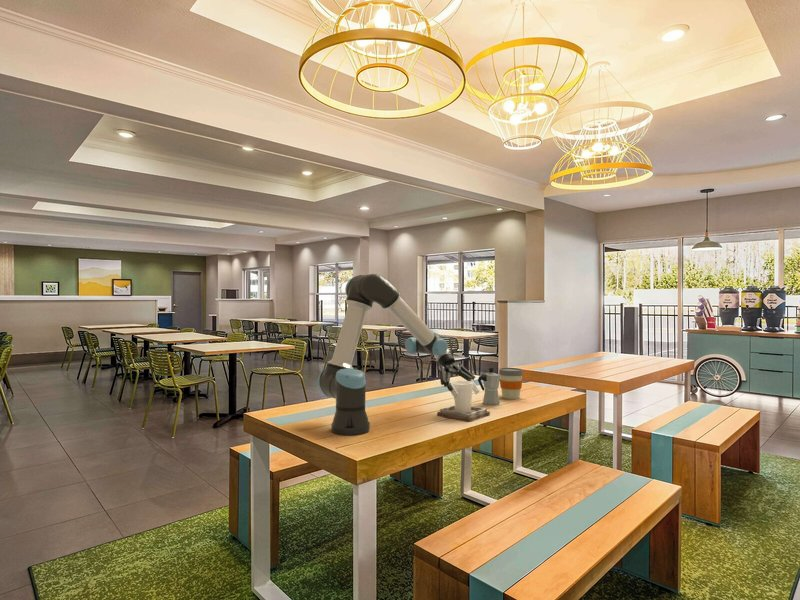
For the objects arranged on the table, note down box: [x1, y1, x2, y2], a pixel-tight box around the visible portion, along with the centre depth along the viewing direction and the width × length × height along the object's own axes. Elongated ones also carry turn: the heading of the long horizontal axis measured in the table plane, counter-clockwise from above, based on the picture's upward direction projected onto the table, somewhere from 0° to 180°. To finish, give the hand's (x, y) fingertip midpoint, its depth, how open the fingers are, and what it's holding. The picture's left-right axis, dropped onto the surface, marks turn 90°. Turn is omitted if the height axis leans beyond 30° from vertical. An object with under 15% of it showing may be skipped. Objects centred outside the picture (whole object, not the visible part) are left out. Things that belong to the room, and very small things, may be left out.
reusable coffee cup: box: [498, 367, 524, 400], centre depth 246 cm, size 13×12×15 cm
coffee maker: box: [477, 367, 501, 406], centre depth 230 cm, size 15×9×18 cm, turn 121°
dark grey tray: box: [436, 404, 491, 423], centre depth 206 cm, size 17×17×3 cm
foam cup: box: [451, 380, 473, 413], centre depth 206 cm, size 10×9×13 cm
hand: (467, 394), depth 204 cm, fingers open, 13 cm apart
